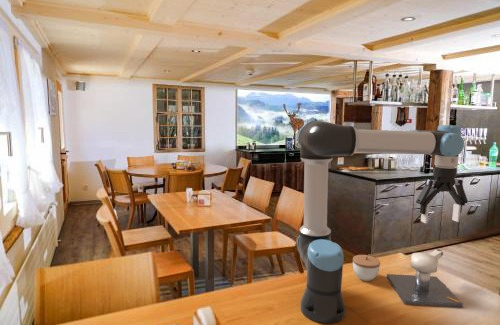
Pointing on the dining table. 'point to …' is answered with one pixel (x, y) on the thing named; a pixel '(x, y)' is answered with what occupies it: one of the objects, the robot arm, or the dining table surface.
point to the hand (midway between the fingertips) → (439, 221)
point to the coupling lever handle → (426, 261)
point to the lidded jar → (366, 267)
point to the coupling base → (422, 296)
